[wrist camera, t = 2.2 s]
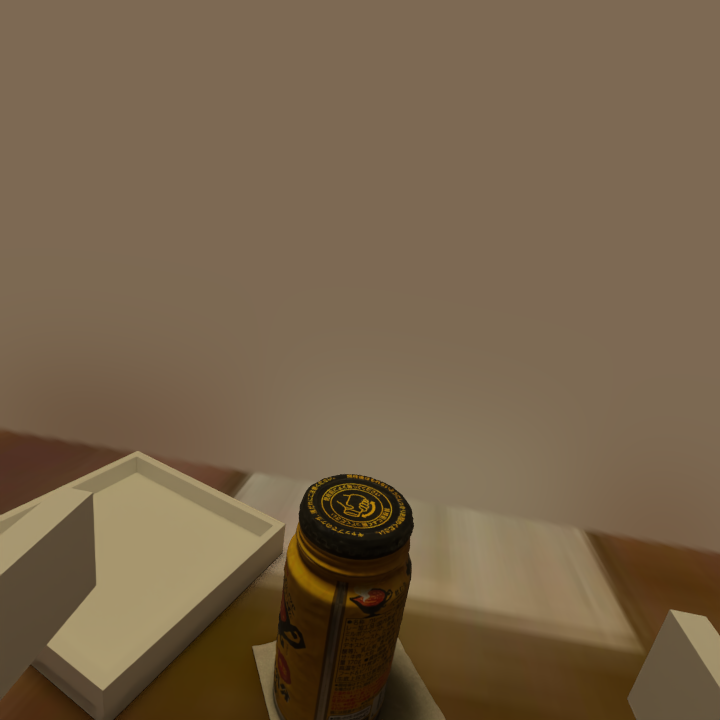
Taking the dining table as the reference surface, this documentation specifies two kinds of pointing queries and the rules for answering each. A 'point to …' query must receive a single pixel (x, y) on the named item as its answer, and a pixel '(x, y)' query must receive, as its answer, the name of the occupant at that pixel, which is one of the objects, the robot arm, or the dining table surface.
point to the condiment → (345, 610)
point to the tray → (150, 578)
